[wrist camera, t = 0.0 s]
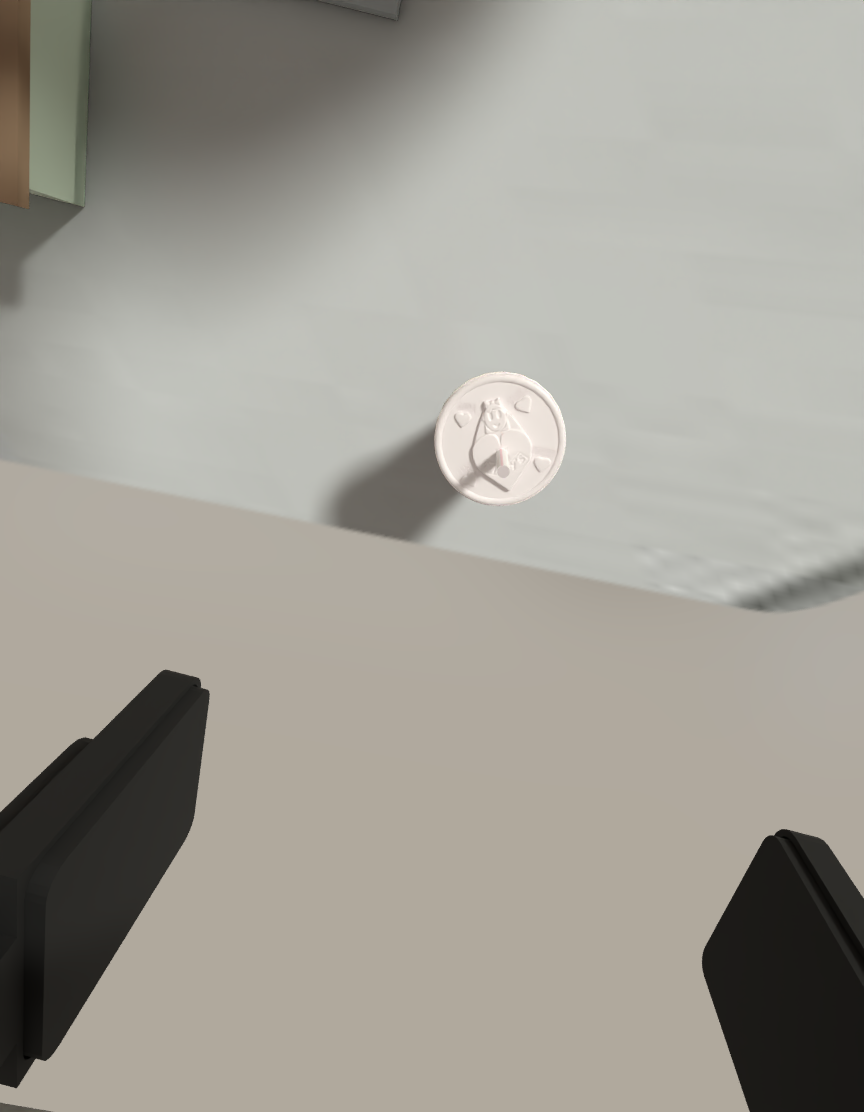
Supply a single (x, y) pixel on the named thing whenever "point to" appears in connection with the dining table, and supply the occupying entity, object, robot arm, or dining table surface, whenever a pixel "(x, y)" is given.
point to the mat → (371, 6)
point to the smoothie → (500, 438)
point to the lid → (15, 101)
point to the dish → (59, 98)
